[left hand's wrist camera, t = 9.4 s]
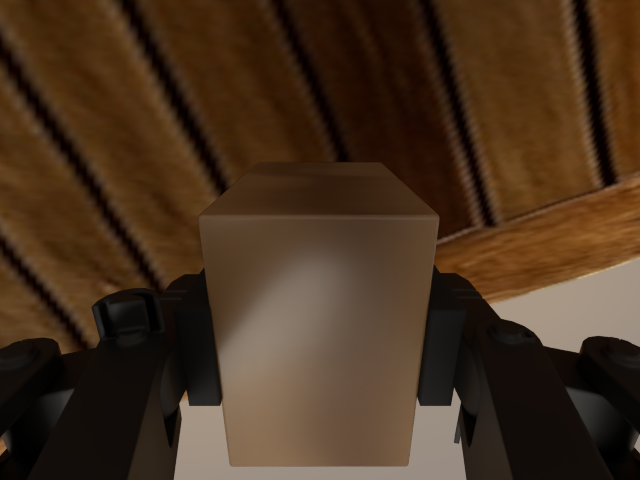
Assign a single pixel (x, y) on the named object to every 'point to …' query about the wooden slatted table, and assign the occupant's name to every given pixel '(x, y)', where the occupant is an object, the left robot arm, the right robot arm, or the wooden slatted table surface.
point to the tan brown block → (319, 312)
